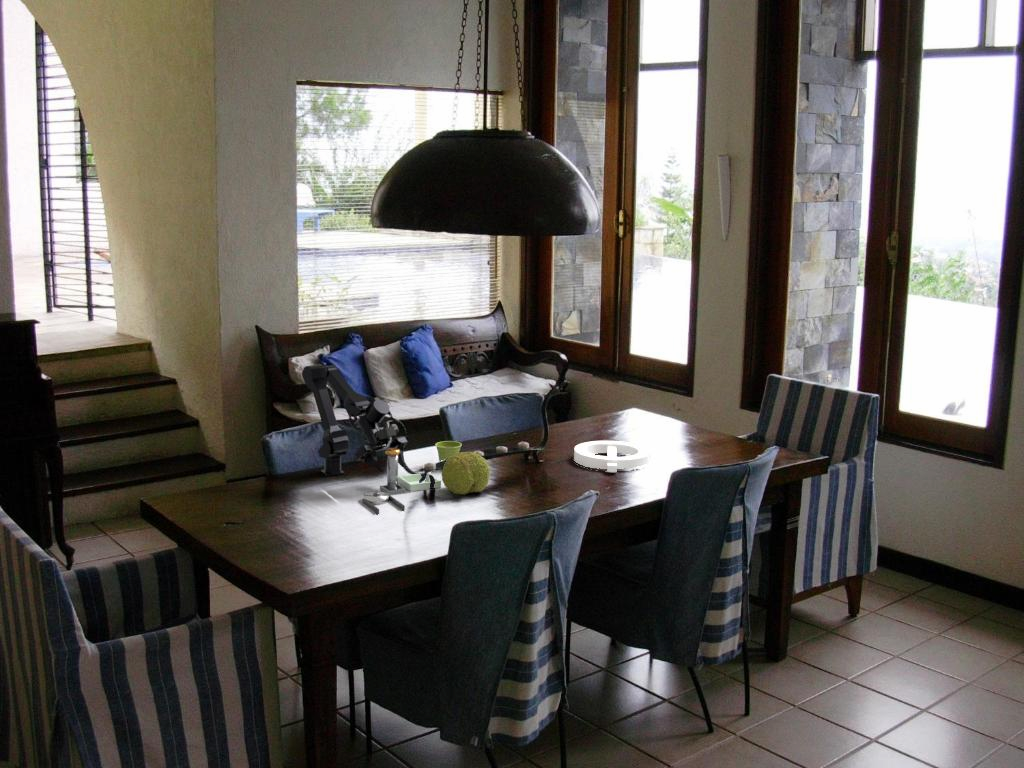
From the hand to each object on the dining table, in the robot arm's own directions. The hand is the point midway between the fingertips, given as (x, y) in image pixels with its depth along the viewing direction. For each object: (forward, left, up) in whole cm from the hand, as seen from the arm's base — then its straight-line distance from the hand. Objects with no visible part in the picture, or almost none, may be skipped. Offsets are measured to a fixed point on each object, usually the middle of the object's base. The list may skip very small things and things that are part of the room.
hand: (393, 469), depth 372 cm
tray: (-2, +10, -8) cm, 13 cm away
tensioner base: (0, 0, -8) cm, 8 cm away
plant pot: (-20, +30, -8) cm, 37 cm away
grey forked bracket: (+12, -9, -8) cm, 17 cm away
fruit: (+10, +22, -8) cm, 25 cm away
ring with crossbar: (-3, +89, -9) cm, 89 cm away
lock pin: (0, 0, -7) cm, 8 cm away
